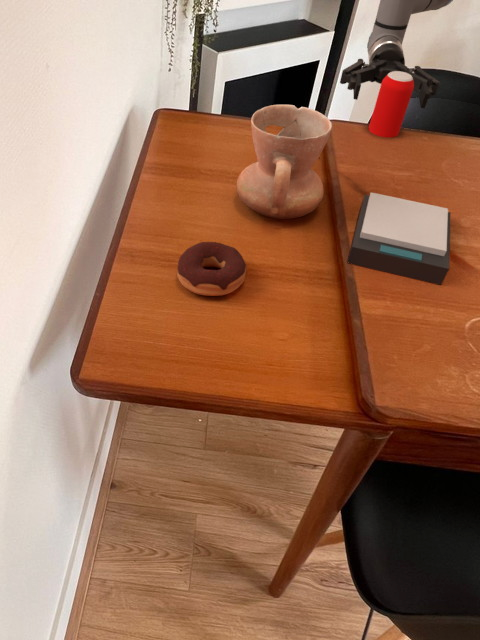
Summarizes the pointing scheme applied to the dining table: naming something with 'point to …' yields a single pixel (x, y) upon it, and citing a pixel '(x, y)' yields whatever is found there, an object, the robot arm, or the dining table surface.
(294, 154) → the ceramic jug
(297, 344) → the dining table surface
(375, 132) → the beverage can
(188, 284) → the donut
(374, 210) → the kitchen scale
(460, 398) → the dining table surface
